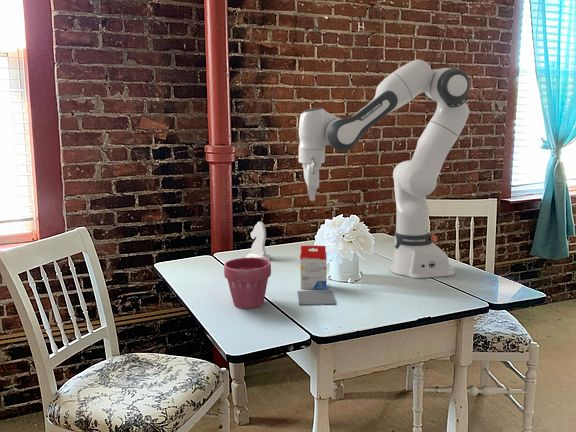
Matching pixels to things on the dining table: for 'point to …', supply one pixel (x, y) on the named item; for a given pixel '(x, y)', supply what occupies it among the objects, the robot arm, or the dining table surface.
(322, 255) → the ink box
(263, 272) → the plant pot
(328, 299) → the mat
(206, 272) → the dining table surface
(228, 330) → the dining table surface
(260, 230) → the chess piece
